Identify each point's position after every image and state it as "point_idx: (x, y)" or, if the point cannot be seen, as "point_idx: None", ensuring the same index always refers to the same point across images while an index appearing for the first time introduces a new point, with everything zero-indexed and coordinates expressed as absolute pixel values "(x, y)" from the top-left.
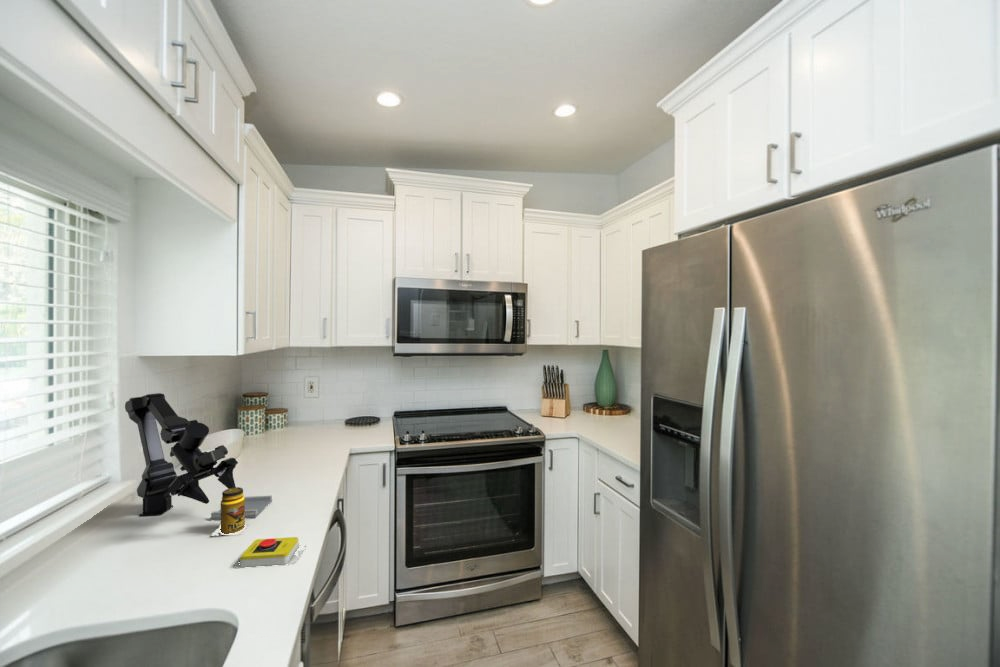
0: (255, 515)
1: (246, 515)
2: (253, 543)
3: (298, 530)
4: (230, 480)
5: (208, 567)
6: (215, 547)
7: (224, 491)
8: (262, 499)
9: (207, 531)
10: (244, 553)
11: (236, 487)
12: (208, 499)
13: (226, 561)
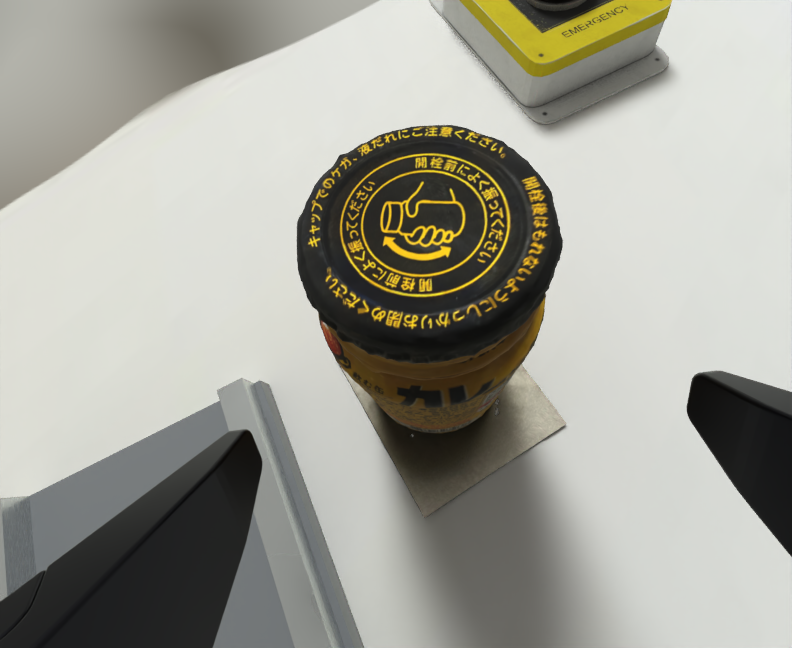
0: (261, 381)
1: (278, 431)
2: (569, 47)
3: (335, 98)
4: (126, 568)
5: (732, 142)
6: (610, 275)
7: (506, 288)
8: (24, 555)
9: (509, 521)
10: (649, 9)
11: (318, 266)
12: (722, 379)
13: (657, 124)
